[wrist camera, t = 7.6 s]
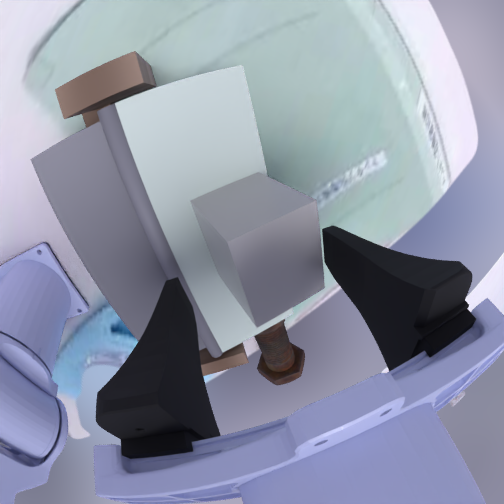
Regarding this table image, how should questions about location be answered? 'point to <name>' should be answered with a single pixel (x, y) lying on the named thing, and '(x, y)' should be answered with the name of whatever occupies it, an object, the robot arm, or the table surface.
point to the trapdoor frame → (88, 103)
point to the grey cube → (263, 244)
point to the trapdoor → (158, 197)
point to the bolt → (279, 355)
